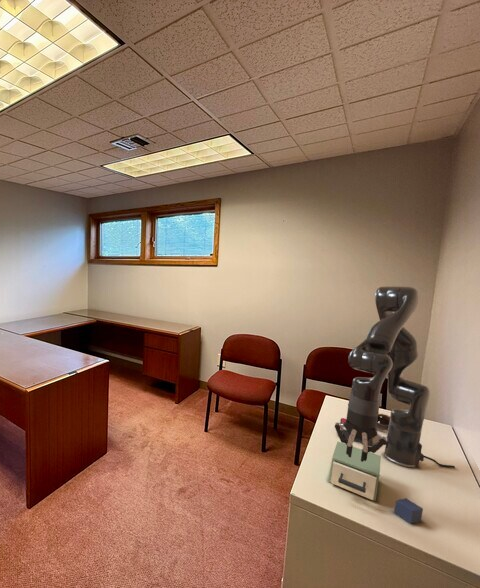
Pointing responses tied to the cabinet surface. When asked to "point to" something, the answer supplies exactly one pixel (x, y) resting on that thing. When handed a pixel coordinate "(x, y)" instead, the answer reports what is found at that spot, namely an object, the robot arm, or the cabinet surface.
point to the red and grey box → (349, 435)
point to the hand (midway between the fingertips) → (355, 458)
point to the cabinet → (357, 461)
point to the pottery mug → (383, 422)
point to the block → (408, 510)
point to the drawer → (353, 480)
